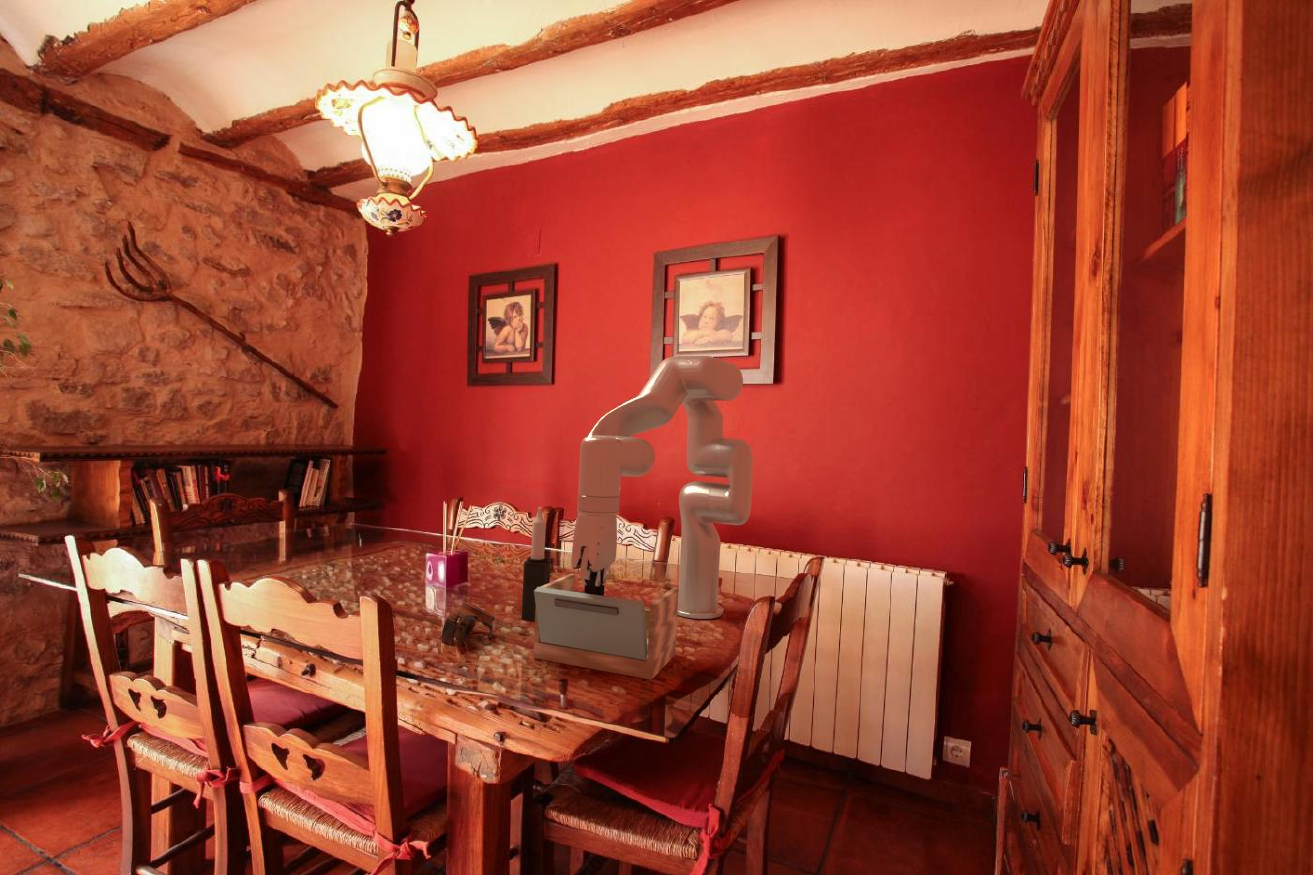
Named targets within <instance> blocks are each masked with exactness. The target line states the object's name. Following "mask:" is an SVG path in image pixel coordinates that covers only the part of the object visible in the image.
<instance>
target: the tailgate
mask: <svg viewBox="0 0 1313 875" xmlns="http://www.w3.org/2000/svg"><path fill="white" fill-rule="evenodd" d="M534 595H535V603H536V611H537V619H538V626H539V634H540V642H545V643H551V644H556V645H562V646H568V647H574V648H579V649H585V650H591V651H597V652H602V653H608V654H614V655H620V656H626V657H631V658H637V659H643V660H645V659H646V657H647V655H648V650H647V635H646V621H645V609H646V608H645V601H640V600H635V599H628V598H620V597H613V596H607V595H604V596H600V595H593V594H586V593H584V592H579V591H578V592H577V591H574V592H572V591H564V590H557V589H550V588H543V587H537V588H536V589H535V590H534Z"/></svg>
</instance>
